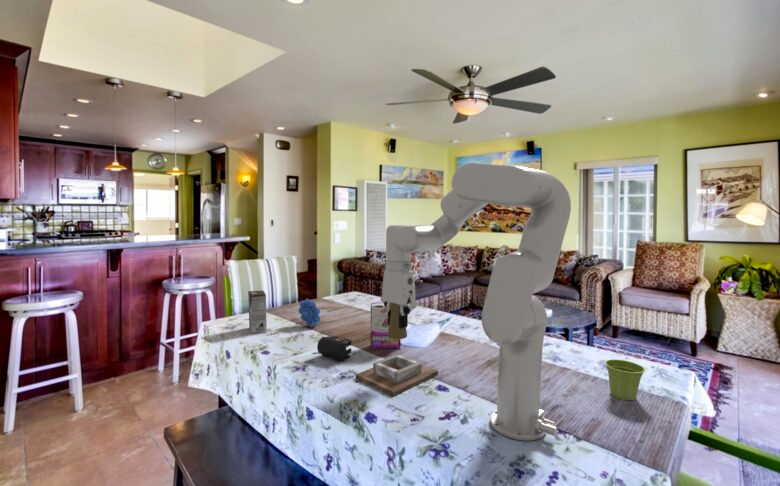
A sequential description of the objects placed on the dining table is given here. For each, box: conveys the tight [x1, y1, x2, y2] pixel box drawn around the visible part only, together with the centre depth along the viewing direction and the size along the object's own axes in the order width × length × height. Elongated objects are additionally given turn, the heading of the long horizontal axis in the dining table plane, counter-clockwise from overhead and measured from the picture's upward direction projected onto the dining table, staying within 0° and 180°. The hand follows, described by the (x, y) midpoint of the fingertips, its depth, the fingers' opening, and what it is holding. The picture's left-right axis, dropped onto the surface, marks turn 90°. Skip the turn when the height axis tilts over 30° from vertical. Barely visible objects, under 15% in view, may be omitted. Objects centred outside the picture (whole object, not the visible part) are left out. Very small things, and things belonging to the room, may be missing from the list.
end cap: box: [316, 335, 352, 361], centre depth 133 cm, size 10×7×7 cm
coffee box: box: [248, 290, 267, 334], centre depth 163 cm, size 9×6×16 cm
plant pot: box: [604, 359, 646, 401], centre depth 106 cm, size 9×9×9 cm
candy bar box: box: [370, 302, 402, 350], centre depth 143 cm, size 11×5×16 cm, turn 92°
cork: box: [388, 303, 408, 340], centre depth 116 cm, size 6×6×11 cm
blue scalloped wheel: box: [297, 298, 322, 327], centre depth 168 cm, size 12×7×12 cm, turn 65°
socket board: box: [355, 353, 439, 397], centre depth 118 cm, size 16×20×4 cm
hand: (397, 325), depth 117 cm, fingers closed on cork, 4 cm apart
